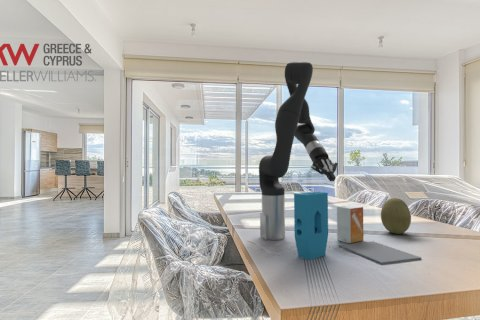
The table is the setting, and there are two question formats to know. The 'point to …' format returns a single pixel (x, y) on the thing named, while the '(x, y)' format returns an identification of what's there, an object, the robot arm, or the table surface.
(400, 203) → the fruit
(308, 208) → the block
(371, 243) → the mat
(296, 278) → the table surface
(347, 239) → the small box
